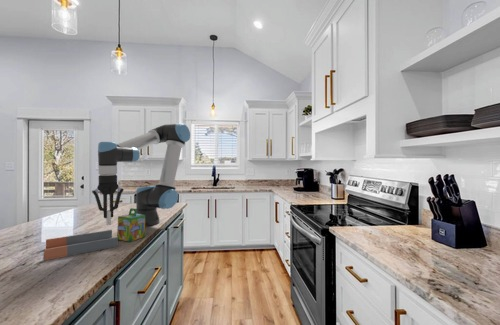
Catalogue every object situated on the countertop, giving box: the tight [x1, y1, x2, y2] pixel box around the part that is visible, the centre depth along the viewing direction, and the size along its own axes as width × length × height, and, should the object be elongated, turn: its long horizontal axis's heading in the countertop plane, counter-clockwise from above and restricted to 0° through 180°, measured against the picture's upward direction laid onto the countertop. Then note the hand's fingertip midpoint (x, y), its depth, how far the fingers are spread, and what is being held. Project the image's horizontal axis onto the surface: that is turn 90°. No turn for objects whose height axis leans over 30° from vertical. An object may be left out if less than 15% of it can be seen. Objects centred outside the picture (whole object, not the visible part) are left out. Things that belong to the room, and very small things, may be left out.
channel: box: [43, 229, 119, 261], centre depth 105 cm, size 25×16×4 cm, turn 129°
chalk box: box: [116, 207, 146, 243], centre depth 118 cm, size 9×9×15 cm
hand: (108, 224), depth 111 cm, fingers closed
